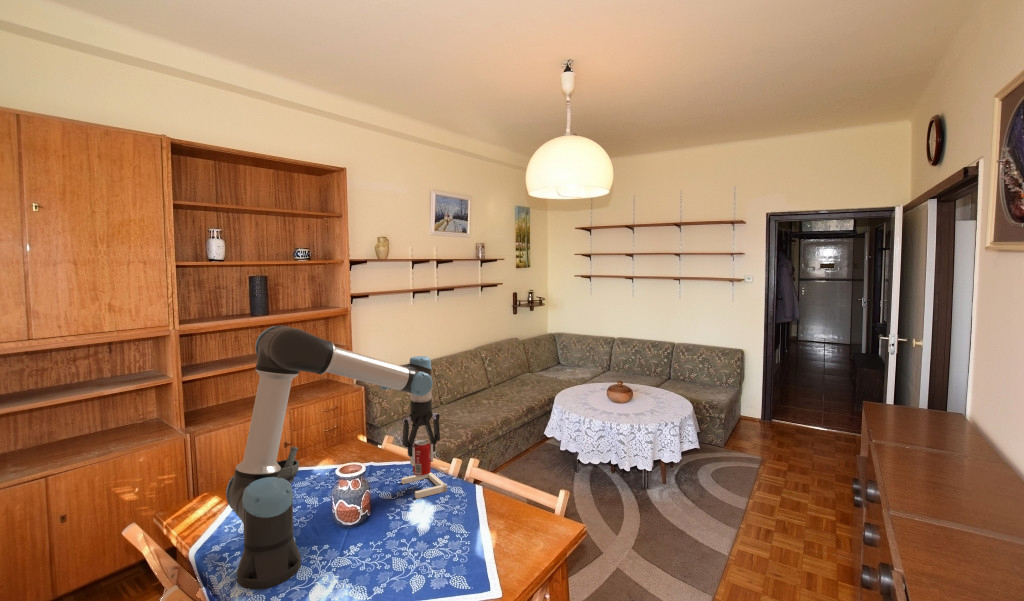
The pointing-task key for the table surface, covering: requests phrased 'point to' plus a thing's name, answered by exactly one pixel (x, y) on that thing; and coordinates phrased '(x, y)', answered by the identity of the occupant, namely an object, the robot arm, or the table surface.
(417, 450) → the beverage can
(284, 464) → the mortar and pestle
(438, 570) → the table surface
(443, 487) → the u-shaped wooden frame
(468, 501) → the table surface
